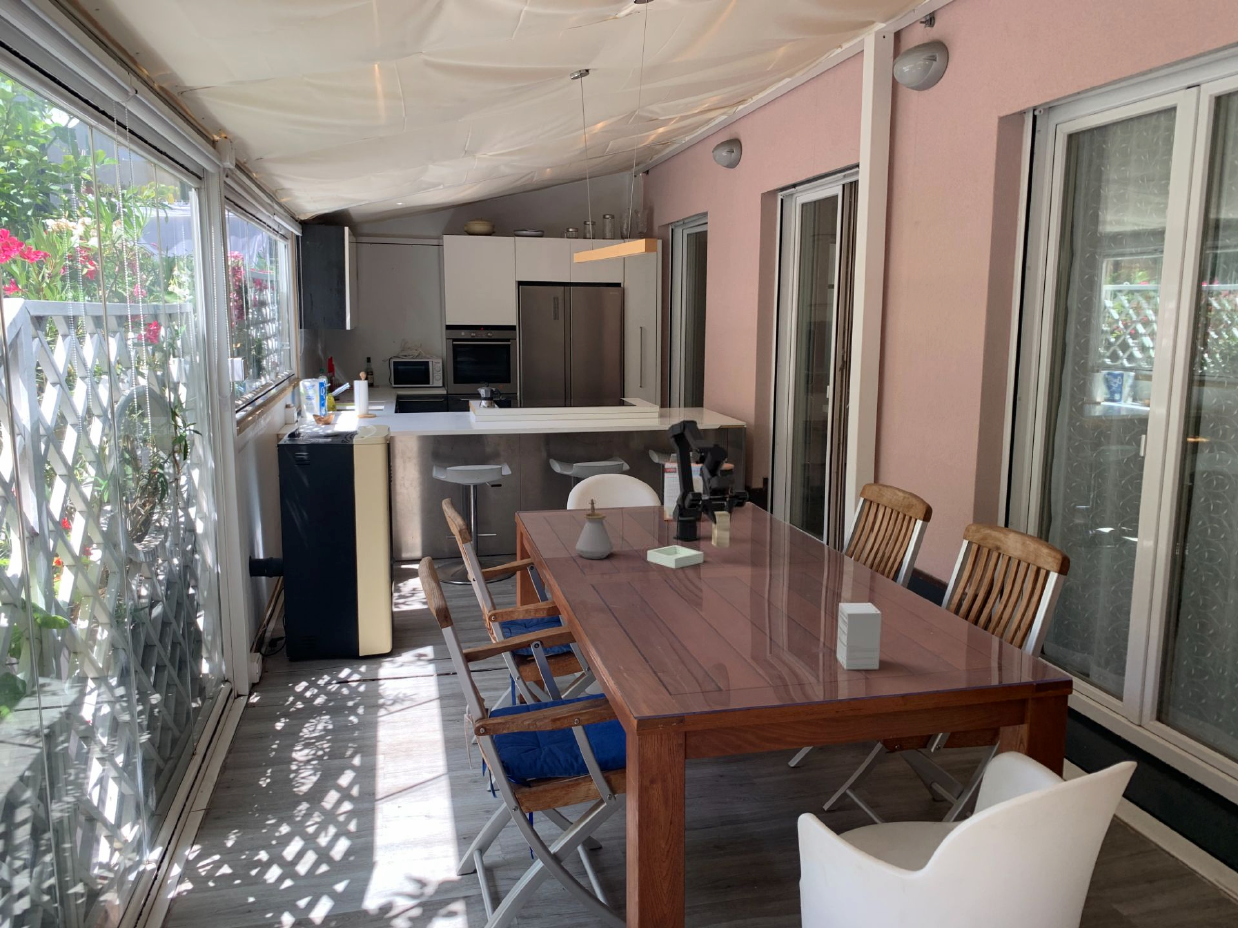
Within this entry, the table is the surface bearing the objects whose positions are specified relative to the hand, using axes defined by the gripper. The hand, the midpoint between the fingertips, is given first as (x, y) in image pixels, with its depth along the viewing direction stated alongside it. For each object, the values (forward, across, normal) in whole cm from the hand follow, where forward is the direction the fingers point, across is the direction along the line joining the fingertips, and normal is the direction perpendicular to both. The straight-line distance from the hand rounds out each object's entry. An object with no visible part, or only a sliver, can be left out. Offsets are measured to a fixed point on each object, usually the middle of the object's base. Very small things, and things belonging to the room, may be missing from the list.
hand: (722, 523), depth 280 cm
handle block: (+4, 0, +6) cm, 7 cm away
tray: (+5, -13, +14) cm, 19 cm away
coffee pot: (-6, -35, +25) cm, 43 cm away
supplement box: (+68, +1, -50) cm, 84 cm away
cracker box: (-35, +8, +54) cm, 64 cm away
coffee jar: (-44, +26, +63) cm, 81 cm away
